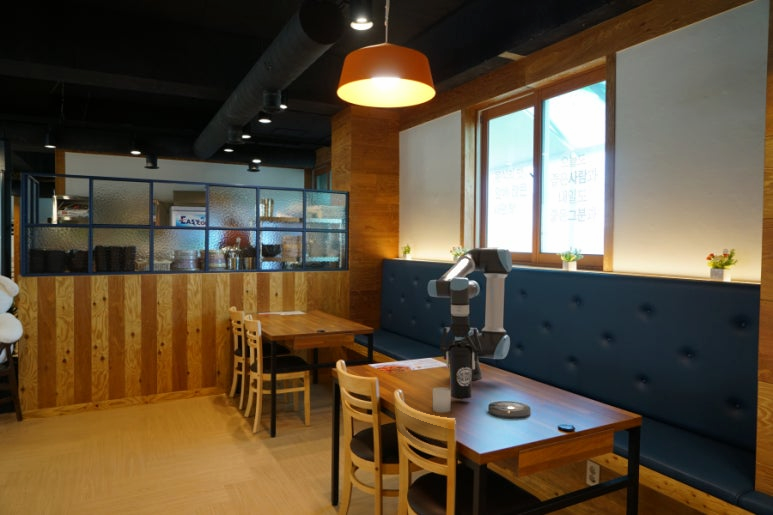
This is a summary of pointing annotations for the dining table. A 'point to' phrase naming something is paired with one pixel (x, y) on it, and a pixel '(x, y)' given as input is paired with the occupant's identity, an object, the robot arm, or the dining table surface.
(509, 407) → the grey plate
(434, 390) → the white rounded capsule
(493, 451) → the dining table surface
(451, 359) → the water bottle
